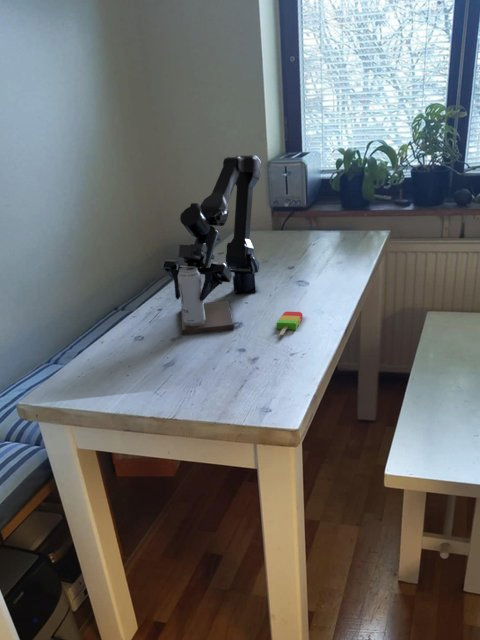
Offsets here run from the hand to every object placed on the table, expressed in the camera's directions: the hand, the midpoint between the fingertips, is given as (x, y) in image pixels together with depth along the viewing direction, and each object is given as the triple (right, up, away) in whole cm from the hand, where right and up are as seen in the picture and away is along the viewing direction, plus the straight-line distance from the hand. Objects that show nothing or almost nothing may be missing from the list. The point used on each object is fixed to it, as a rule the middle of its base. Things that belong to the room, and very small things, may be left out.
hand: (188, 299), depth 162 cm
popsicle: (+27, -7, +2) cm, 28 cm away
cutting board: (+4, -3, +11) cm, 12 cm away
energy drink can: (+1, -5, +5) cm, 8 cm away
